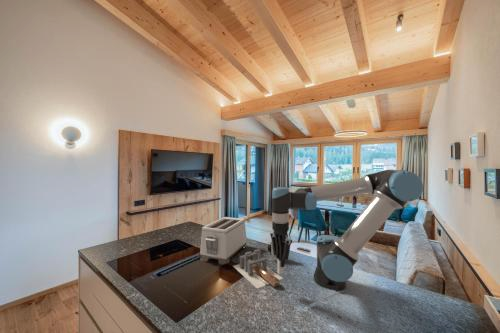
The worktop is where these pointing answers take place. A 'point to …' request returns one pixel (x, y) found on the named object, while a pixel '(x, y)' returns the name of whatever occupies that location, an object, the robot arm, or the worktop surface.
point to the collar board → (253, 279)
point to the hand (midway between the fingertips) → (280, 272)
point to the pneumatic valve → (271, 251)
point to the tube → (266, 275)
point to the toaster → (223, 239)
